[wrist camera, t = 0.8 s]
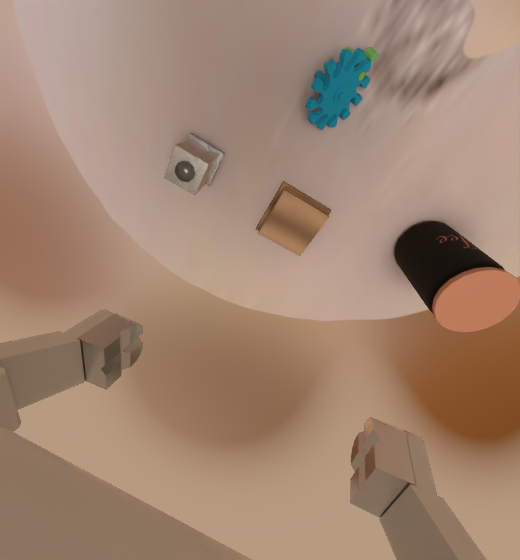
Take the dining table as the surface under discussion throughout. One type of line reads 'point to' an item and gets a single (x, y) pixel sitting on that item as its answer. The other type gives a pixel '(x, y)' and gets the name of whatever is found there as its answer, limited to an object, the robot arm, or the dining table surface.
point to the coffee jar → (456, 278)
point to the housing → (193, 164)
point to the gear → (339, 86)
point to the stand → (292, 219)
